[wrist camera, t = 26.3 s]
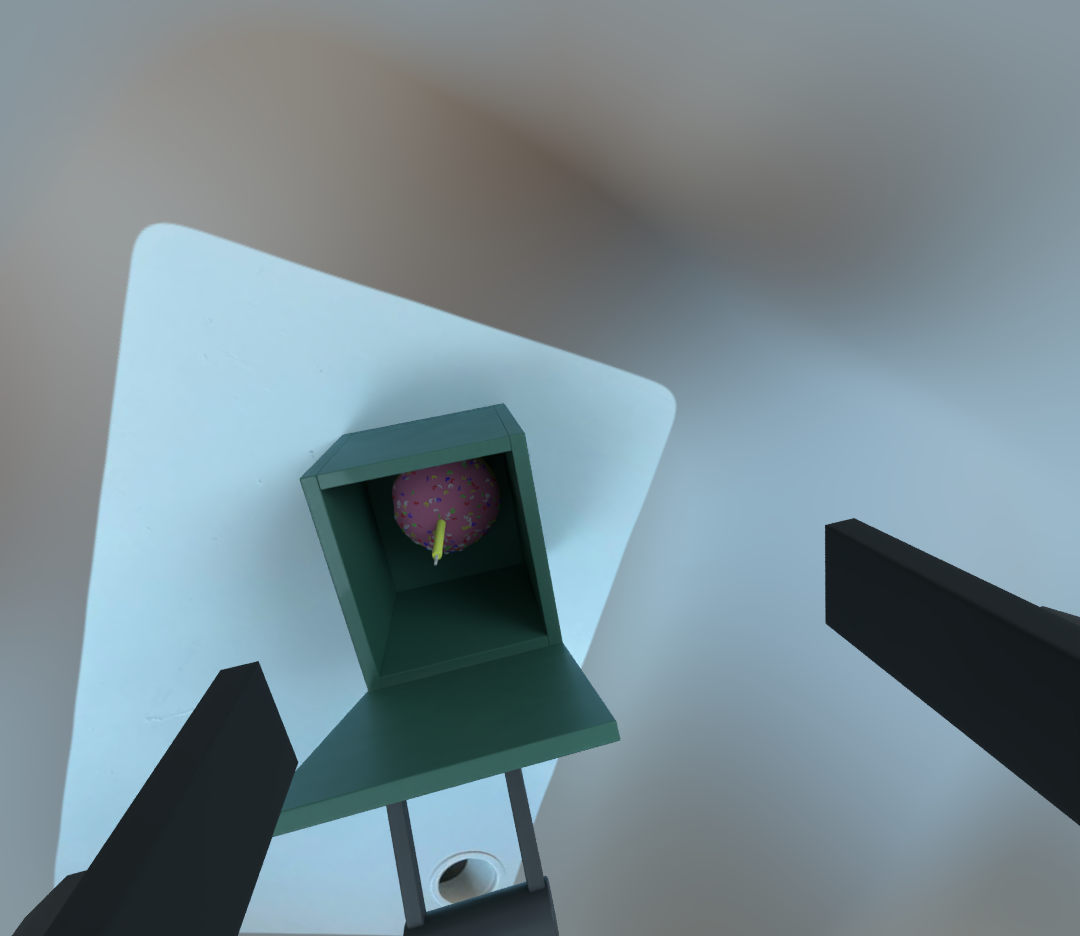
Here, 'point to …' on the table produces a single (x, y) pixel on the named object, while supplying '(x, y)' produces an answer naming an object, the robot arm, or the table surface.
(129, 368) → the table surface
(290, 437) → the table surface
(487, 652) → the cool box
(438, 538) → the cupcake
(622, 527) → the table surface
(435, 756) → the cool box lid
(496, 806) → the table surface
